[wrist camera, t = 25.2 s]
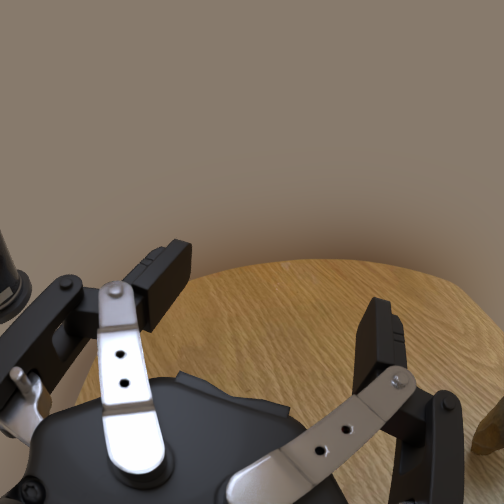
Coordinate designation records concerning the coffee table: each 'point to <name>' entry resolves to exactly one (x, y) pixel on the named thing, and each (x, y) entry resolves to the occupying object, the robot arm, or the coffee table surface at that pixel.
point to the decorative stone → (490, 432)
